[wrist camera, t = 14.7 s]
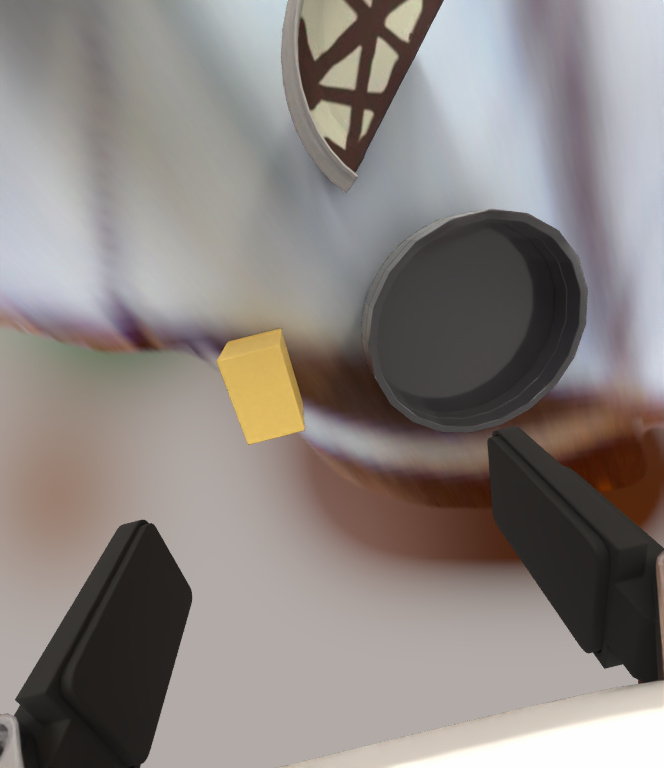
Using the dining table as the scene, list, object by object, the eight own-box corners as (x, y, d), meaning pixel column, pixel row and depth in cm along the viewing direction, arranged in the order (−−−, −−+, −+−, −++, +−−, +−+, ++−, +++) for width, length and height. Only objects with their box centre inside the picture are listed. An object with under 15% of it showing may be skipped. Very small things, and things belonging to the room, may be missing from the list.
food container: (341, -55, 22) (381, -271, 12) (424, 18, 23) (514, -125, 14) (252, 154, 25) (231, 107, 16) (330, 204, 27) (352, 188, 17)
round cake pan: (558, 189, 28) (594, 183, 25) (555, 388, 35) (582, 404, 31) (341, 243, 28) (348, 244, 25) (380, 433, 34) (389, 453, 31)
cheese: (281, 327, 30) (279, 344, 25) (302, 403, 32) (305, 430, 28) (227, 341, 30) (215, 361, 25) (253, 415, 32) (247, 445, 28)
